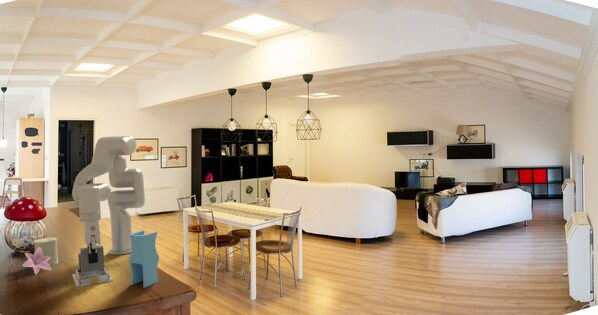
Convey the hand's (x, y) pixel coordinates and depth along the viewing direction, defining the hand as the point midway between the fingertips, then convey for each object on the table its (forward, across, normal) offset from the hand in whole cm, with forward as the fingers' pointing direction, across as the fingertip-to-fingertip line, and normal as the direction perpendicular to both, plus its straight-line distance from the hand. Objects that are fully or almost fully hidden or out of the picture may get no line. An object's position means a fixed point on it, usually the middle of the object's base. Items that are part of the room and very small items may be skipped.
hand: (92, 261), depth 164 cm
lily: (+9, +31, +18) cm, 37 cm away
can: (+8, +41, +14) cm, 45 cm away
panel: (+3, 0, 0) cm, 3 cm away
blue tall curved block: (+9, -15, -17) cm, 24 cm away
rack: (+8, +5, 0) cm, 10 cm away
